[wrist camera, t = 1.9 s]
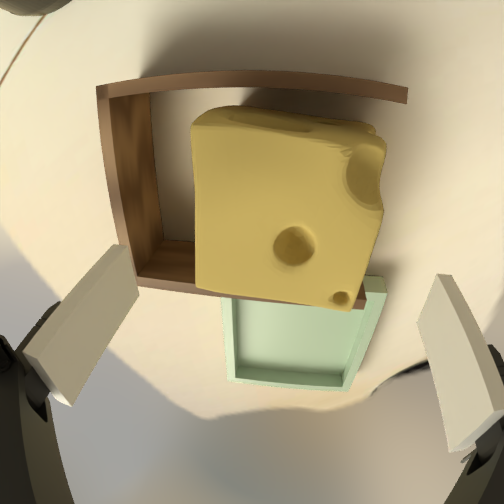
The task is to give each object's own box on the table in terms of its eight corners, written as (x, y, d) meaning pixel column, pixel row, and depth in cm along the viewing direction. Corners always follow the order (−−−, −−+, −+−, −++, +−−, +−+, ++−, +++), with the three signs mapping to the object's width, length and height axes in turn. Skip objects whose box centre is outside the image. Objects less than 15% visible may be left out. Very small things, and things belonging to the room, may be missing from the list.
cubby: (138, 80, 21) (95, 86, 16) (382, 84, 19) (407, 87, 14) (156, 247, 29) (129, 284, 24) (354, 265, 27) (363, 309, 22)
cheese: (367, 121, 20) (410, 151, 12) (339, 242, 26) (352, 324, 18) (231, 99, 21) (185, 116, 13) (222, 223, 27) (186, 297, 19)
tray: (225, 262, 29) (219, 278, 27) (382, 276, 27) (387, 293, 25) (231, 365, 38) (227, 381, 36) (347, 375, 36) (348, 391, 34)
